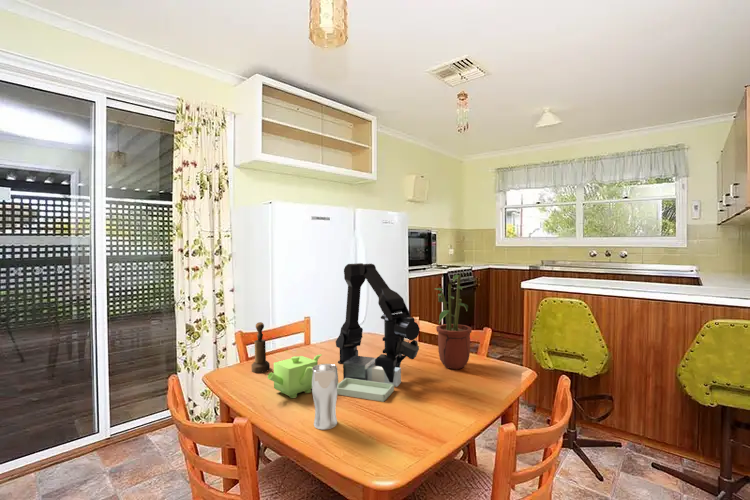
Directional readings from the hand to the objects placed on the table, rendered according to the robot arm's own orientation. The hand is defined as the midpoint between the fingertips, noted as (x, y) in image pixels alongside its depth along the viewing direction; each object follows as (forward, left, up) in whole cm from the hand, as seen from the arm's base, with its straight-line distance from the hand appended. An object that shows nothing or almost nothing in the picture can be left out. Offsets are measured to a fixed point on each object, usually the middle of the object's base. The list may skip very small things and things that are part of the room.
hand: (393, 380), depth 128 cm
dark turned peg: (-51, -4, -2) cm, 52 cm away
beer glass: (-7, -33, -1) cm, 34 cm away
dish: (-6, -10, -1) cm, 12 cm away
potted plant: (+14, +24, -1) cm, 28 cm away
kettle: (-26, -17, -2) cm, 32 cm away
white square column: (-5, 0, -1) cm, 5 cm away
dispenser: (-12, 0, -1) cm, 13 cm away
